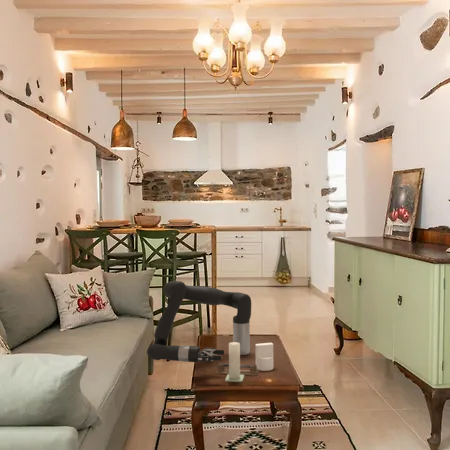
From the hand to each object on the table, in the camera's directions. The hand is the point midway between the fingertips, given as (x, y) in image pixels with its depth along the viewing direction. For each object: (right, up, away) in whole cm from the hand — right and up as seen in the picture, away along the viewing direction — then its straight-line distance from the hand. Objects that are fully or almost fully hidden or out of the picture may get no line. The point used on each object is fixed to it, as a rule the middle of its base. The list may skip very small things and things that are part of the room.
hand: (222, 355), depth 218 cm
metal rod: (+7, -8, +7) cm, 12 cm away
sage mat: (+6, -11, 0) cm, 12 cm away
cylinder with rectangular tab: (+21, -11, +14) cm, 27 cm away
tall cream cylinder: (+6, -10, 0) cm, 12 cm away
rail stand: (+7, -11, +7) cm, 14 cm away
